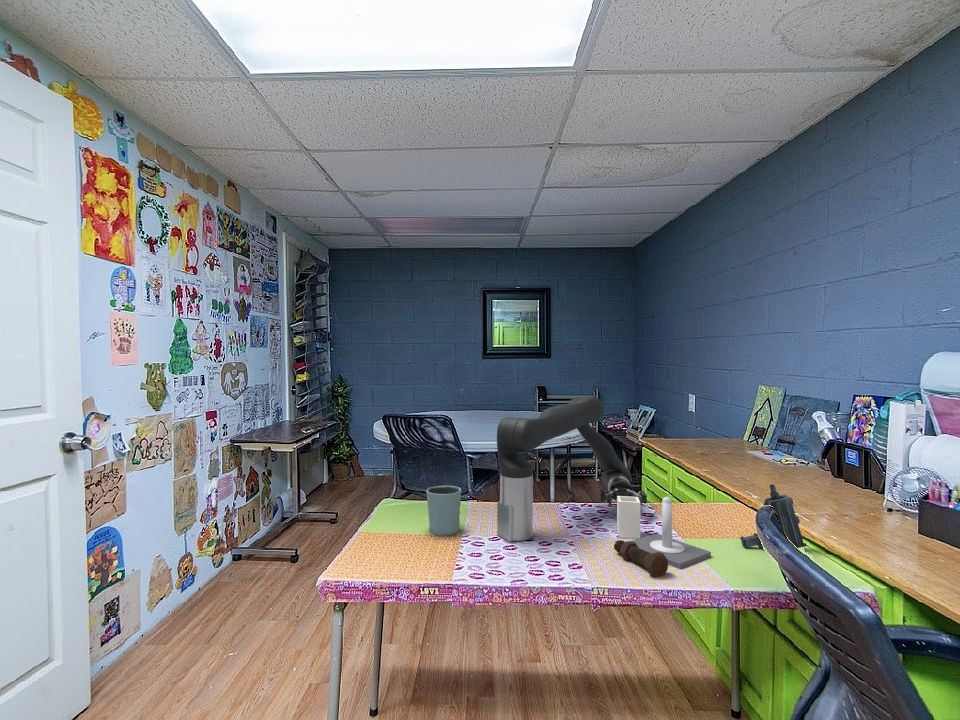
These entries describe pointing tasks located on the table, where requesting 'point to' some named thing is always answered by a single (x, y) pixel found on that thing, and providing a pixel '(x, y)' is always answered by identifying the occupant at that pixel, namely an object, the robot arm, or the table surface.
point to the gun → (780, 520)
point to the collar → (628, 517)
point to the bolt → (643, 557)
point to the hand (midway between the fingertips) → (624, 502)
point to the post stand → (671, 542)
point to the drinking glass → (444, 509)
